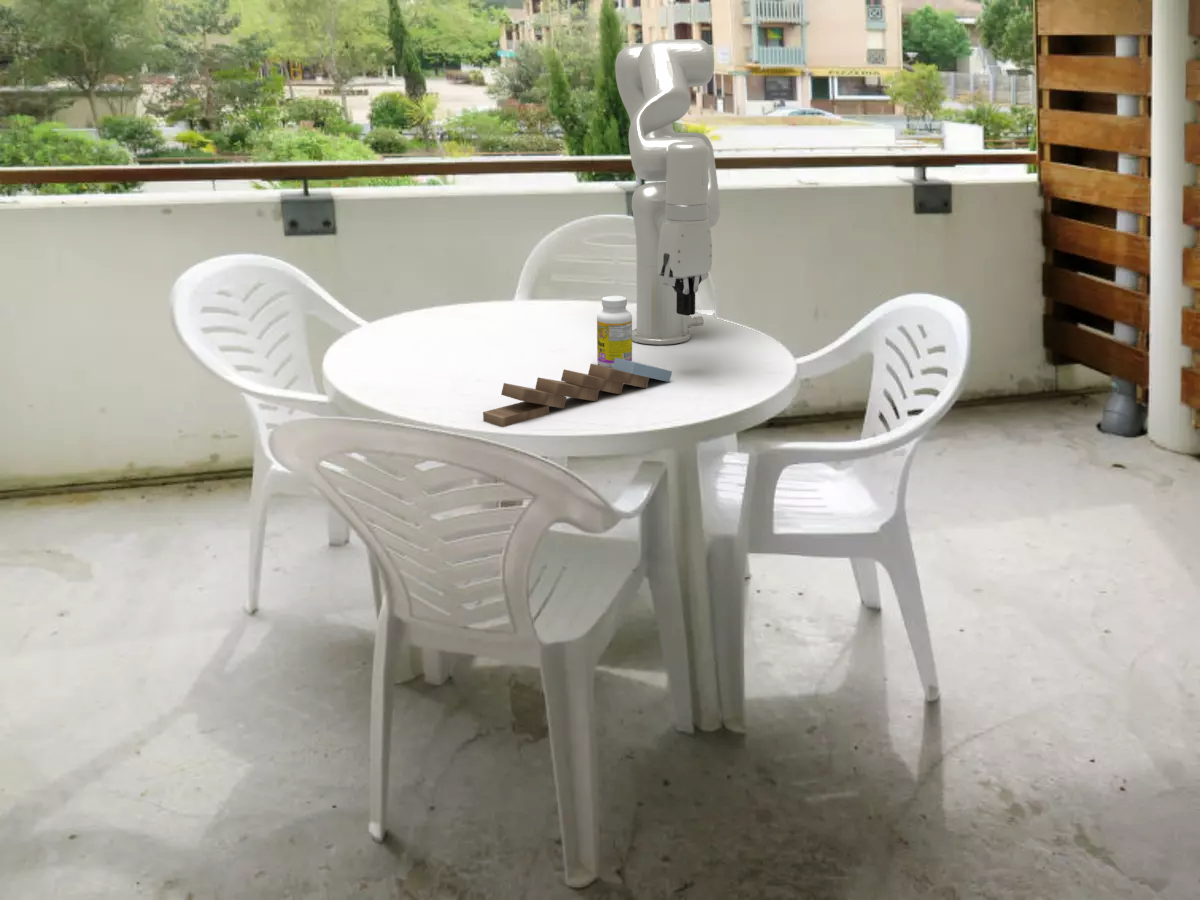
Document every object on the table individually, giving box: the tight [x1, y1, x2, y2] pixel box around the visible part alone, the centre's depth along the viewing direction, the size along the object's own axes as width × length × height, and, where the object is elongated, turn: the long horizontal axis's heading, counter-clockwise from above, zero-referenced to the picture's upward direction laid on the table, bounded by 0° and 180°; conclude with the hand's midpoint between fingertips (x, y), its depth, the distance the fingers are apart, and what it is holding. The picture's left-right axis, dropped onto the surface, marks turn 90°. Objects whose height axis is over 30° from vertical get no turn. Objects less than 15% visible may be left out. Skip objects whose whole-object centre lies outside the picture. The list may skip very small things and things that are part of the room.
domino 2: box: [482, 401, 550, 428], centre depth 215 cm, size 2×5×10 cm
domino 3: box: [534, 376, 600, 402], centre depth 221 cm, size 2×5×10 cm
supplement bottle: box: [596, 295, 633, 368], centre depth 245 cm, size 7×7×13 cm
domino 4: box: [560, 369, 624, 395], centre depth 225 cm, size 2×5×10 cm
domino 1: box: [501, 382, 567, 409], centre depth 216 cm, size 2×5×10 cm
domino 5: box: [587, 363, 650, 389], centre depth 229 cm, size 2×5×10 cm
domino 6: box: [613, 358, 673, 383], centre depth 232 cm, size 2×5×10 cm
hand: (685, 313), depth 237 cm, fingers closed
